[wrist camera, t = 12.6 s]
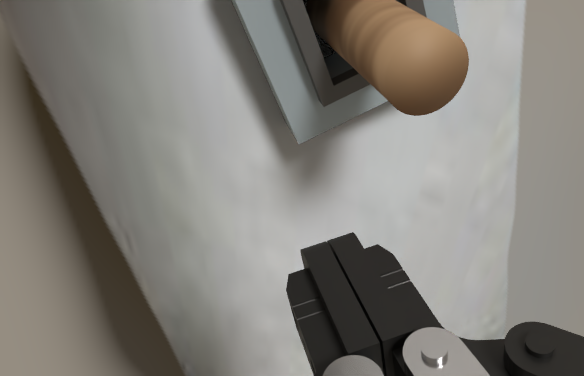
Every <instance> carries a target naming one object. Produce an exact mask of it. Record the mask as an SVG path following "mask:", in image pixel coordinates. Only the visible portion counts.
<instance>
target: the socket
mask: <svg viewBox="0 0 584 376" xmlns="http://www.w3.org/2000/svg"><path fill="white" fill-rule="evenodd" d="M396 1H398V2H399V3H401V4H403V5H405V6H407V7H408V8H410V9H412V10H414V11H416V12H417V13H419V14H421V15H423V16H425V17H427V18H428V19H430V20H432V21H434V22H436V23H437V24H439V25H441V26H443V27H445V28H446V29H448V30H450V31H452V32H454V33H455V34H457V35H458V36H459V37H460V34H459V29H458V23H457V18H456V12H455V7H454V1H453V0H396ZM232 3H233V5H234V7H235V9H236V12H237V14H238V16H239V18H240V21H241V23H242V25H243V27H244V30H245V32H246V34H247V36H248V38H249V41H250V43H251V45H252V47H253V50H254V52H255V54H256V56H257V59H258V61H259V63H260V65H261V68H262V70H263V72H264V74H265V76H266V79H267V81H268V83H269V85H270V88H271V90H272V92H273V94H274V97H275V99H276V101H277V103H278V105H279V108H280V110H281V112H282V114H283V117H284V119H285V121H286V123H287V125H288V127H289V129H290V130H291V132H292V134H293V135H294V137H295V139H296V140H297V142H298V144H301V143H303V142H305V141H307V140H309V139H311V138H314V137H316V136H318V135H320V134H322V133H324V132H326V131H328V130H330V129H332V128H334V127H336V126H338V125H340V124H342V123H344V122H346V121H348V120H350V119H352V118H354V117H356V116H359V115H361V114H363V113H365V112H367V111H369V110H371V109H373V108H375V107H377V106H379V105H381V104H383V103H385V102H387V101H388V100H387V99H386V98H385V97H384V96H383V95H381V94H380V93H379V92H378V91H377V90H376V89H375V88H374V87H373V86H372V85H371V84H370V83H369V82H368V81H367V80H366V79H365V78H363V77H362V76H361V75H360V74H359V73H358V72H357V71H356V70H355V69H354V68H353V67H352V66H351V65H350V64H349V63H348V62H347V61H345V60H344V59H343V58H342V57H341V56H340V55H339V54H338V53H335V54H333V55H331V56H329V57H327V58H325V59H324V58H323V55H322V52H321V50H320V47H319V44H318V41H317V39H316V36H315V33H314V30H313V27H312V25H311V22H310V19H309V16H308V14H307V11H306V8H305V5H304V3H303V0H232Z"/></svg>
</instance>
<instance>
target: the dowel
mask: <svg viewBox="0 0 584 376" xmlns="http://www.w3.org/2000/svg"><path fill="white" fill-rule="evenodd" d="M306 11H307V14H308V16H309V19H310V22H311V25H312V27H313V30H314V31H315V32H316V33H317V34H318V35H319V36H320V37H321V38H322V39H323V40H324V41H325V42H326V43H328V44H329V45H330V46H331V47H332V48H333V49H334V50H335V51H336V52H337V53H338V54H339V55H340V56H341V57H342V58H343V59H344V60H345V61H347V62H348V63H349V64H350V65H351V66H352V67H353V68H354V69H355V70H356V71H357V72H358V73H359V74H360V75H361V76H362V77H363V78H365V79H366V80H367V81H368V82H369V83H370V84H371V85H372V86H373V87H374V88H375V89H376V90H377V91H378V92H379V93H380V94H381V95H383V96H384V97H385V98H386V99H387V100H388V101H389V102H390V103H391V104H392V105H393V106H394V107H395V108H396V109H397V110H399V111H401V112H403V113H405V114H408V115H414V116H418V115H426V114H429V113H432V112H434V111H437V110H438V109H440V108H442V107H443V106H445V105H446V104H447V103H448V102H450V101H451V100H452V99H453V98H454V96H455V95H456V94H457V93H458V91H459V90H460V88H461V86H462V85H463V83H464V80H465V78H466V75H467V71H468V64H469V58H468V52H467V48H466V46H465V44H464V42H463V40H462V39H461V38H460V37H459V36H458V35H457V34H455V33H454V32H452V31H450V30H448V29H446V28H445V27H443V26H441V25H439V24H437V23H436V22H434V21H432V20H430V19H428V18H427V17H425V16H423V15H421V14H419V13H417V12H416V11H414V10H412V9H410V8H408V7H407V6H405V5H403V4H401V3H399V2H398V1H396V0H308V1H307V7H306Z"/></svg>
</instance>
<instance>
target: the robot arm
mask: <svg viewBox="0 0 584 376" xmlns="http://www.w3.org/2000/svg"><path fill="white" fill-rule="evenodd" d="M301 256H302V260H303V264H304V269H303V270H300V271H297V272H294V273H291V274H289V276H288V282H287V288H286V291H287V295H288V299H289V302H290V306H291V310H292V313H293V317H294V321H295V324H296V328H297V330H298V333H299V336H300V339H301V341H302V344H303V347H304V350H305V352H306V355H307V358H308V361H309V363H310V366H311V369H312V372H313V374H314V376H584V337H582V336H580V335H577V334H574V333H571V332H568V331H565V330H562V329H560V328H557V327H554V326H551V325H548V324H545V323H539V322H525V323H521V324H518V325H516V326H514V327H513V328H511V329H510V330H509V332H508V333H507V335H506V337H505V339H497V340H468V339H464V338H460V337H458V336H456V335H455V334H454V333H452V332H450V331H448V330H446V329H444V328H443V327H442V326H441V324H440V323H439V322H438V320H437V319H436V317H435V316H434V314H433V313H432V312H431V310H430V309H429V307H428V306H427V304H426V303H425V301H424V300H423V298H422V297H421V295H420V294H419V292H418V291H417V289H416V288H415V286H414V285H413V283H412V282H411V281H410V279H409V277H408V276H407V274H406V273H405V271H403V269H402V267H401V265H400V264H399V262H398V261H397V259H396V258H395V256H394V255H393V254H392V253H390V252H389V251H387V250H386V249H384V248H383V247H381V246H379V245H378V244H377V245H374V246H371V247H368V248H365V249H364V248H363V246H362V245H361V243H360V241H359V240H358V238H357V236H356V235H355V234H354V233H353V232H352V233H349V234H346V235H343V236H340V237H337V238H334V239H331V240H328V241H327V242H322V243H319V244H316V245H313V246H310V247H307V248H304V249H301Z"/></svg>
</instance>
